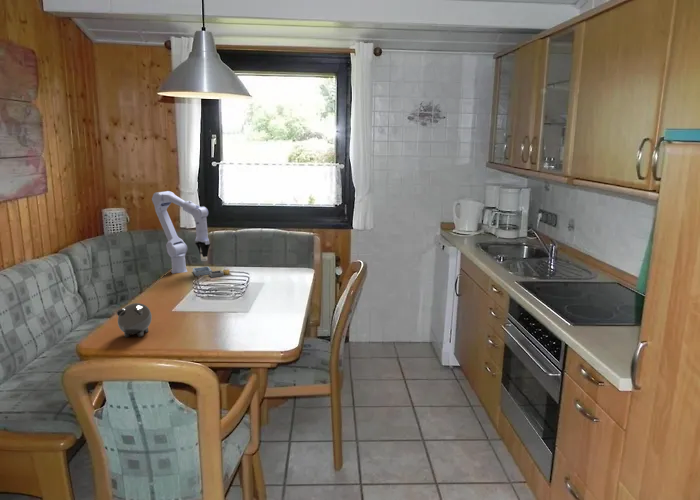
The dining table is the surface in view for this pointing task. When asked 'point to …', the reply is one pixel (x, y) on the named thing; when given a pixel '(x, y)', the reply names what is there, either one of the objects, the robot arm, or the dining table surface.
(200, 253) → the fuse
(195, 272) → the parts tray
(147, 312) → the piggy bank
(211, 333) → the dining table surface
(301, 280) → the dining table surface
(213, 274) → the fuse block
